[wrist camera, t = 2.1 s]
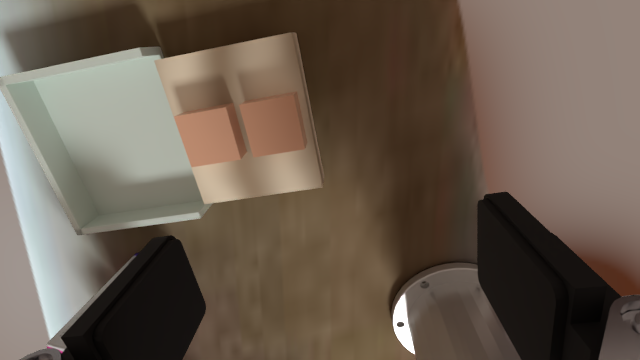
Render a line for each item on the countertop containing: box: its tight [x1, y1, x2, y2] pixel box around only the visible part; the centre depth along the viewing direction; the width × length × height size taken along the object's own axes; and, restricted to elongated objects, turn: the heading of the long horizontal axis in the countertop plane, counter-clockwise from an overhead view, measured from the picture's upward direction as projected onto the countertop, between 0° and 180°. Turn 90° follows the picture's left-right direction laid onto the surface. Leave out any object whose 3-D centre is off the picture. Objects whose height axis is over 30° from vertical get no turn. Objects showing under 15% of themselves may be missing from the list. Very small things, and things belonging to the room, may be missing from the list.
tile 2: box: [174, 103, 247, 167], centre depth 26 cm, size 4×4×2 cm
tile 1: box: [239, 91, 307, 157], centre depth 25 cm, size 4×4×2 cm
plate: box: [154, 32, 324, 204], centre depth 28 cm, size 10×12×2 cm
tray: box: [0, 47, 212, 235], centre depth 29 cm, size 12×14×3 cm
